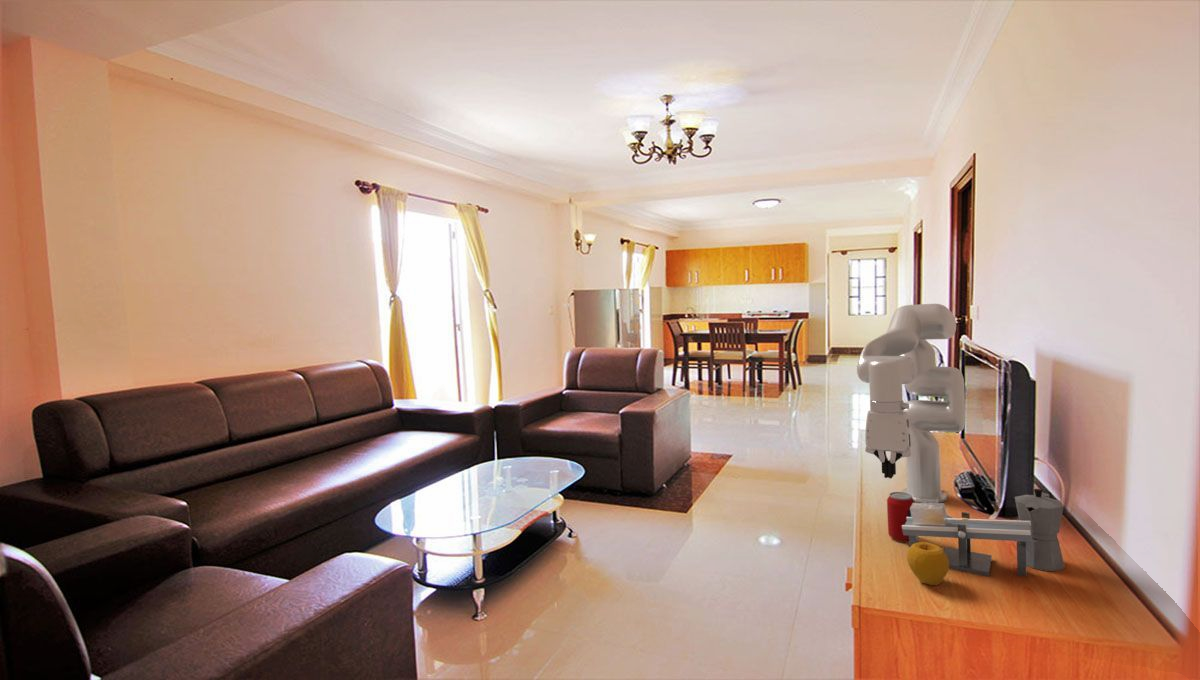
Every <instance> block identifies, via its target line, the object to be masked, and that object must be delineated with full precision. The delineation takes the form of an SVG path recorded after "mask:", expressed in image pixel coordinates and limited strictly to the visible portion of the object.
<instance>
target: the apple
mask: <svg viewBox="0 0 1200 680" xmlns="http://www.w3.org/2000/svg"><path fill="white" fill-rule="evenodd" d="M906 560H907V563H908V564H907V565H908V566H909V568H910V571H912V573H913V574H914V576H915V577H916V578H917V579H918V581H920V582H921V583H923V584H927V585H930V586H938V585H939V584H940V583H942V582H943V580H944V578H946V576H947V574H948V572H949V569H950V568H949V560H948V557H947V555H946V553H945V552H944V550H943V548H942V547H940V546H938V545H936V544H934V543H931V542H927V541H918V543H915V544H913V545H912V546H911V547H910V548H909V547H908V549H907V552H906Z"/></svg>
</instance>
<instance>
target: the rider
mask: <svg viewBox="0 0 1200 680" xmlns="http://www.w3.org/2000/svg"><path fill="white" fill-rule="evenodd" d="M910 511H911V516H912V521H913V526H937V527H947V525H948V519H947V515H948V514H947V510H946V507H945V503H943V502H940V503H921V502H915V503H913V504H912V505H911V507H910Z"/></svg>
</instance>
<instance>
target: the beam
mask: <svg viewBox="0 0 1200 680" xmlns="http://www.w3.org/2000/svg"><path fill="white" fill-rule="evenodd" d="M906 519H907V521H906V523H905V525H902V530H903V535H910V536H918V537H929V538H930V537H931V538H932V537H933V538H948V539H949V538H952V539H958V524H962V525H966V537H967V539H971V540H989V541H992V540H993V541H1006V542H1007V541H1009V542H1017V541H1025V542H1032V532H1033V530H1032V526H1031V521H1020V520H1019V519H1017V520H1015V519H1012V520H1011V519H986V518H985V519H982V518H970V519H968V518H962V517H961V518H958V517H957V518H955V517H952V518H947V519H948V525H947V527H937V526H913V521H912V517H906Z"/></svg>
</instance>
